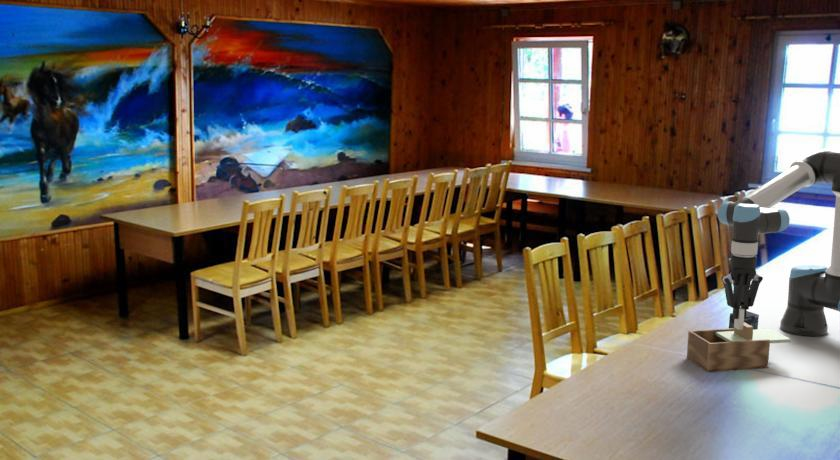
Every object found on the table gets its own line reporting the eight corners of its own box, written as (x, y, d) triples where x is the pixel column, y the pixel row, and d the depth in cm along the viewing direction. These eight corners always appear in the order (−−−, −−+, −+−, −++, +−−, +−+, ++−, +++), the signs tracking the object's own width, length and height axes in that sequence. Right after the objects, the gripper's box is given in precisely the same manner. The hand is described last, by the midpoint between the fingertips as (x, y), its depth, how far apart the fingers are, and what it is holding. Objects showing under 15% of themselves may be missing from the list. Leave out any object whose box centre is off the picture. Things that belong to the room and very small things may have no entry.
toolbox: (744, 354, 262) (746, 327, 260) (767, 368, 249) (770, 340, 248) (686, 357, 258) (688, 330, 257) (707, 372, 246) (709, 343, 244)
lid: (769, 331, 261) (770, 316, 260) (790, 342, 250) (791, 326, 249) (715, 334, 257) (716, 319, 257) (734, 345, 247) (735, 330, 246)
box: (740, 348, 268) (742, 317, 266) (727, 343, 273) (729, 313, 271) (757, 344, 271) (759, 314, 269) (743, 339, 276) (745, 310, 274)
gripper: (756, 251, 253) (750, 323, 257) (717, 252, 251) (712, 326, 255) (770, 256, 246) (764, 330, 250) (730, 258, 243) (725, 333, 248)
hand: (738, 328), depth 252 cm, fingers closed
